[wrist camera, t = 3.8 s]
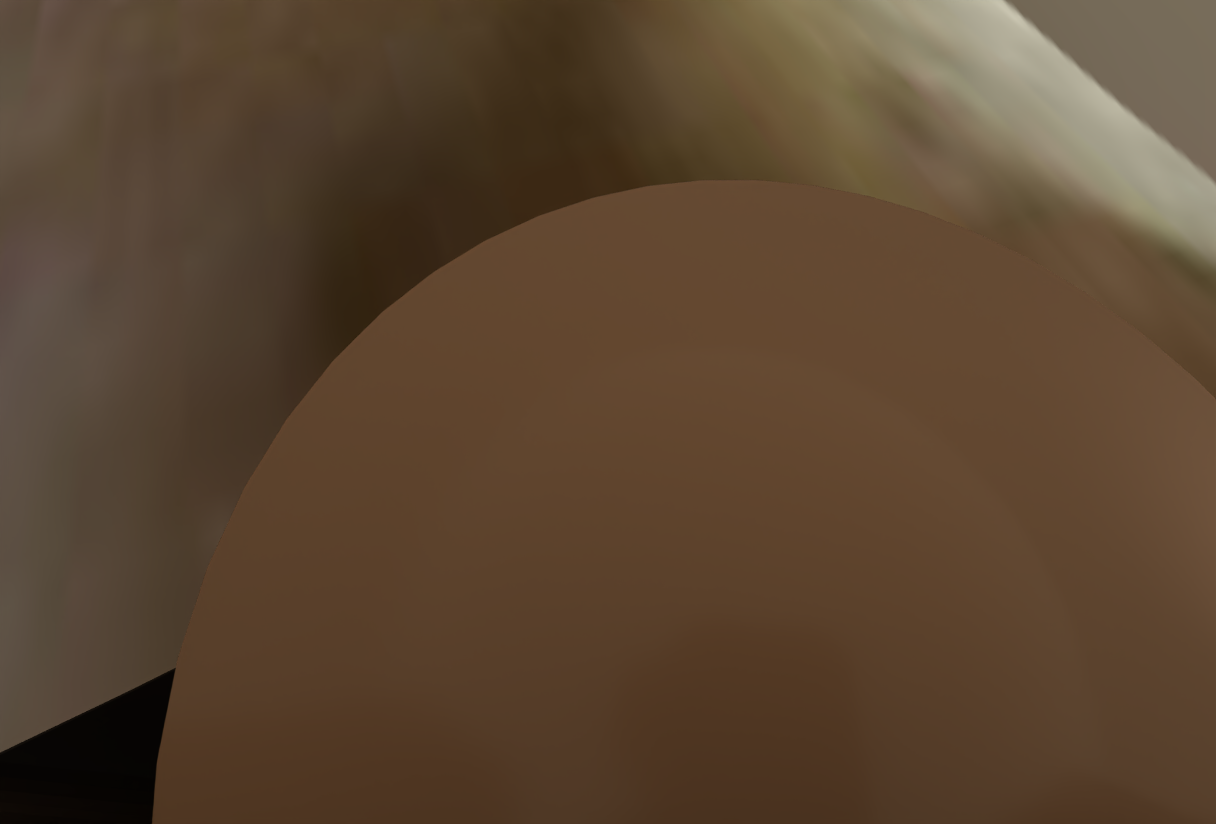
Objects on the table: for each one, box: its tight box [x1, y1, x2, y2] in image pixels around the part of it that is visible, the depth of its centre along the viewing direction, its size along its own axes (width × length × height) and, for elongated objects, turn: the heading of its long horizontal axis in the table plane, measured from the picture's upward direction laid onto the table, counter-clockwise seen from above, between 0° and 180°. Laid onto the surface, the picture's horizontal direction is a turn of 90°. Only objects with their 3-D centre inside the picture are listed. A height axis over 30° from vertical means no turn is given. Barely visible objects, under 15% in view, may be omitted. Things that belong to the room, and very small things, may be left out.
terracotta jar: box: [152, 180, 1216, 824], centre depth 9 cm, size 6×6×13 cm
